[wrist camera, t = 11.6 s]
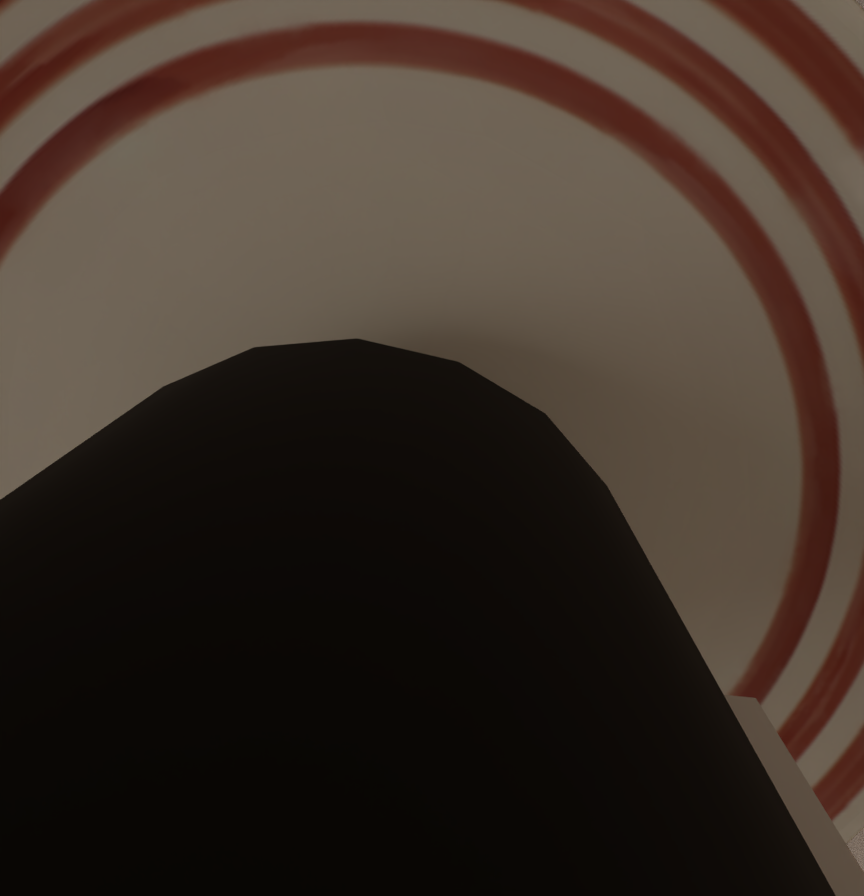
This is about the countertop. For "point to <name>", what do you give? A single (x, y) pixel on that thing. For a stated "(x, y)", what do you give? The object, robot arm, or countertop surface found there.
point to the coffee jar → (358, 657)
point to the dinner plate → (488, 262)
